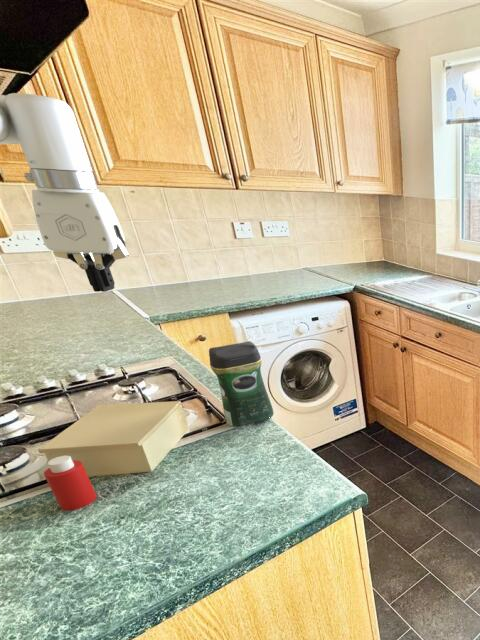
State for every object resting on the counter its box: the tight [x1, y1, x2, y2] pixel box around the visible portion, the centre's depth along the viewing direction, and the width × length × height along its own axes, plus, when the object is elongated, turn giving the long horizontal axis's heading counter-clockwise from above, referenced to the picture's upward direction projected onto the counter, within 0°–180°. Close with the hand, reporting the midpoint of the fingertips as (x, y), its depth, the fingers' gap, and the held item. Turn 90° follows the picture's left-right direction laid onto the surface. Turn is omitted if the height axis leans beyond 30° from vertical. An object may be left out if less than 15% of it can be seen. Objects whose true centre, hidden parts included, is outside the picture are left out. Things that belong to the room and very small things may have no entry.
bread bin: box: [44, 404, 190, 478], centre depth 82 cm, size 16×15×7 cm
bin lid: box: [37, 400, 182, 454], centre depth 80 cm, size 16×15×1 cm
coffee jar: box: [208, 340, 275, 428], centre depth 95 cm, size 10×8×19 cm
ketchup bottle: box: [43, 456, 98, 512], centre depth 69 cm, size 4×4×9 cm
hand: (104, 289), depth 79 cm, fingers closed
